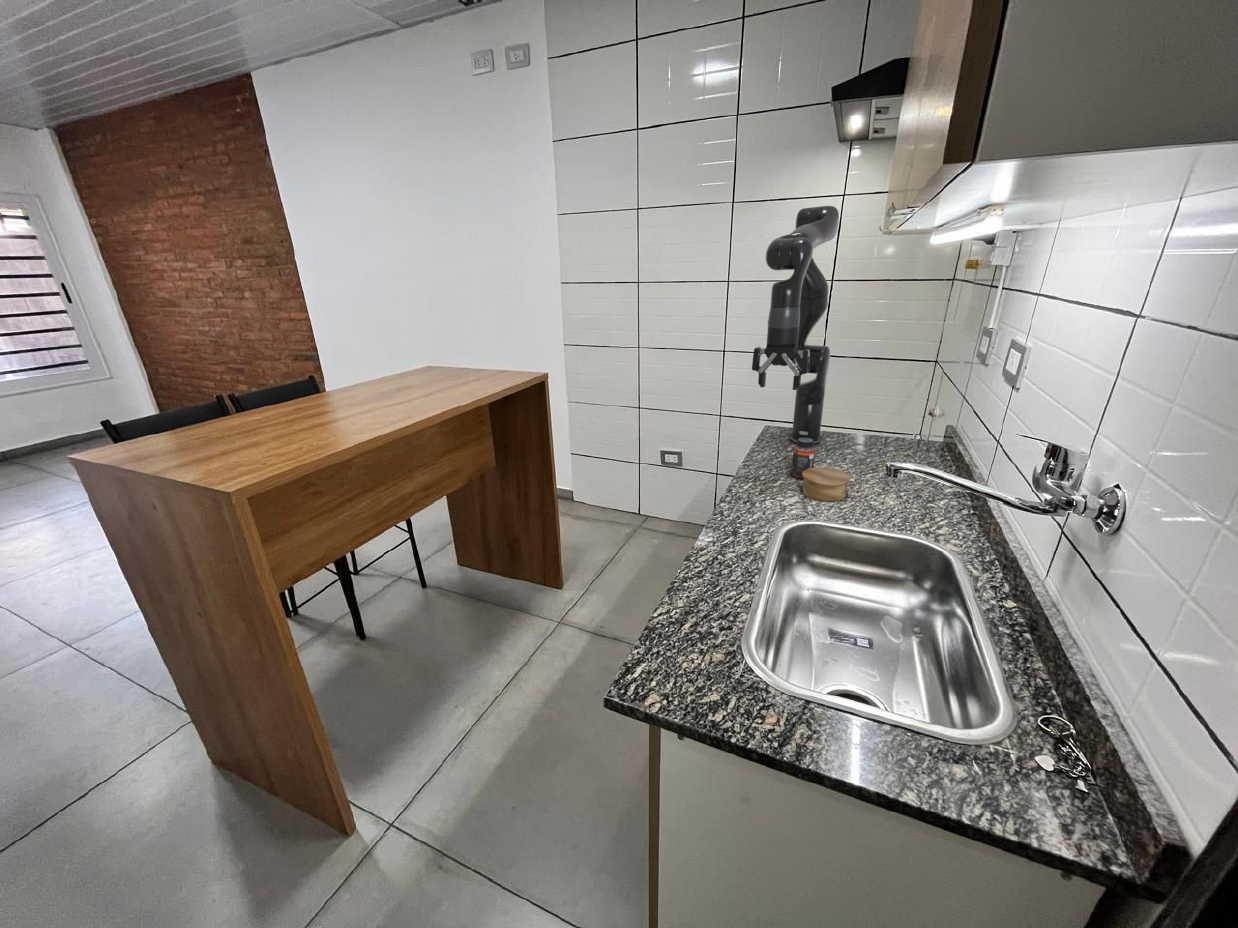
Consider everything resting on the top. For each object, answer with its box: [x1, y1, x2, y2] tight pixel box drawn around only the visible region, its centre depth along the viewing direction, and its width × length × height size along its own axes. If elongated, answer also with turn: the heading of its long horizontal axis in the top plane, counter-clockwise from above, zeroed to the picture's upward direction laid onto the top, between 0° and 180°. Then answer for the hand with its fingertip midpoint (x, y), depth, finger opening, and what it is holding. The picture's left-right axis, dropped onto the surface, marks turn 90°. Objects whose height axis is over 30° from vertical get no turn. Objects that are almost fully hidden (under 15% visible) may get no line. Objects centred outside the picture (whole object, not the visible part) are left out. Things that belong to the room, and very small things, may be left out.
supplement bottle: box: [791, 438, 817, 480], centre depth 141 cm, size 6×6×11 cm
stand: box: [802, 466, 851, 502], centre depth 131 cm, size 12×12×5 cm
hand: (778, 388), depth 128 cm, fingers open, 8 cm apart
